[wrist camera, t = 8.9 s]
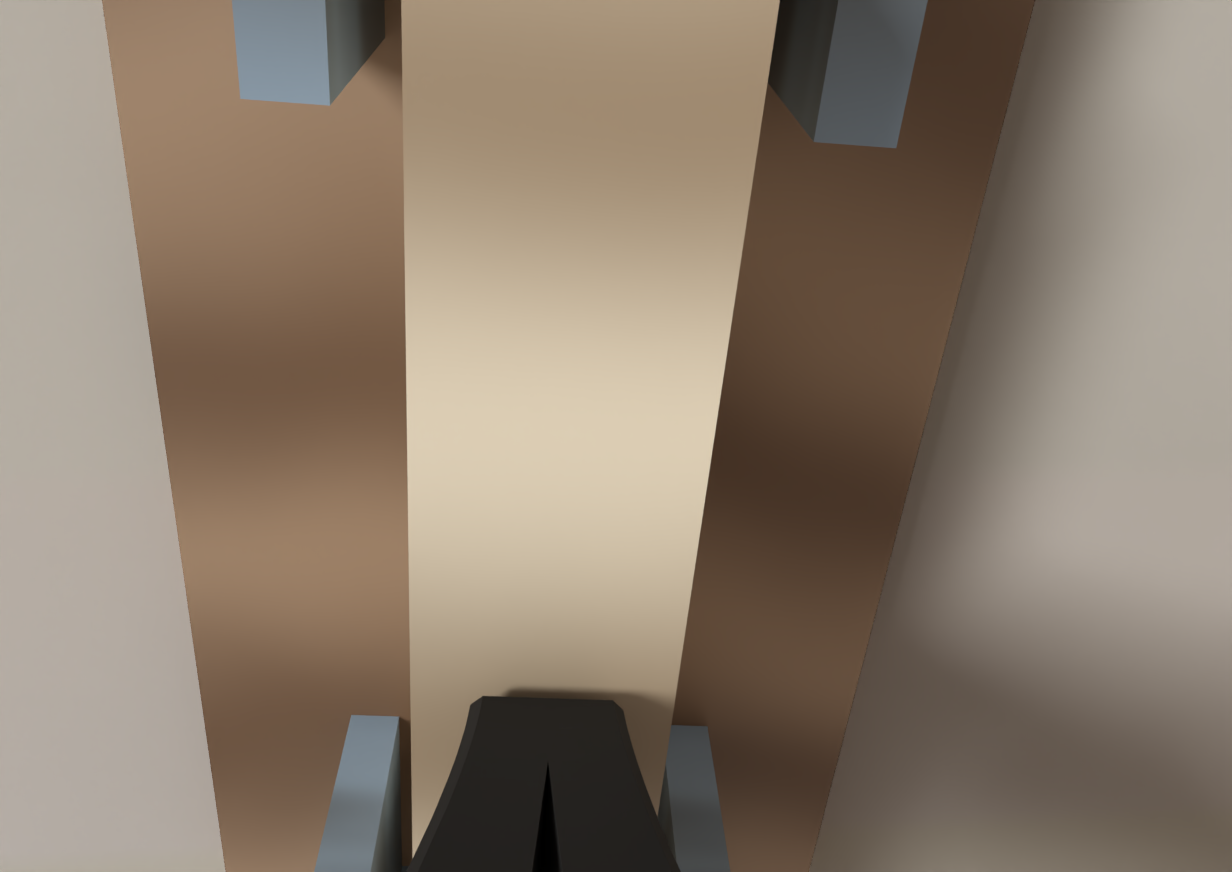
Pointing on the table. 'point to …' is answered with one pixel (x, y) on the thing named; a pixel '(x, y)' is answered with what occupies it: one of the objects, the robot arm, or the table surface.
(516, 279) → the slat
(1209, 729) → the table surface
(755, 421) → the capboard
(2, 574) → the table surface
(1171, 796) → the table surface
